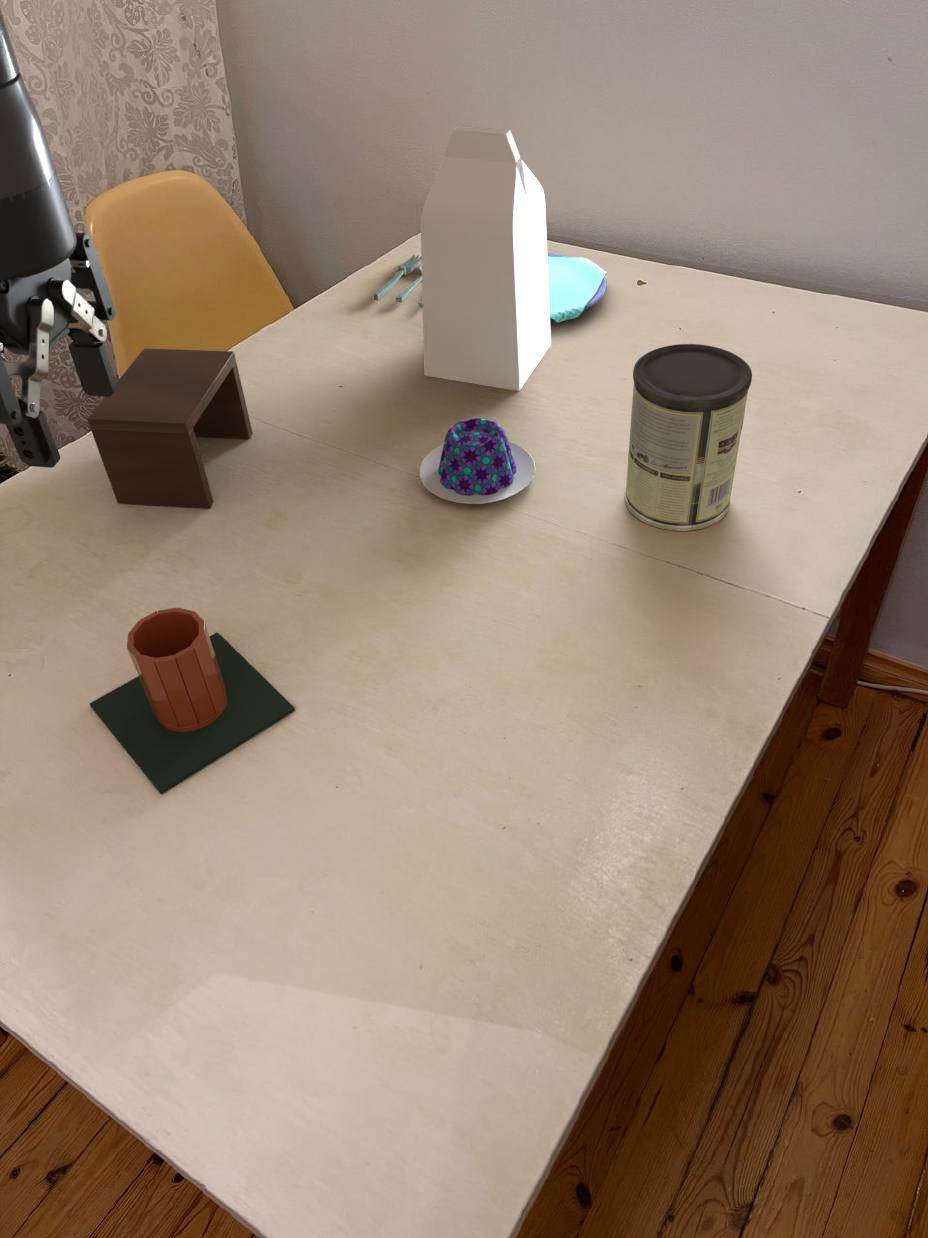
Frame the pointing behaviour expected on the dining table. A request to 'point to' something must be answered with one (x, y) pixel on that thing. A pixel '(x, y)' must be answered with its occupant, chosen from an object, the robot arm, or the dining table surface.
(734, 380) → the coffee can
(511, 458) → the pudding
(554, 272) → the cutlery set
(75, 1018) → the dining table surface
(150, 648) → the cup
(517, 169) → the milk
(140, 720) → the mat
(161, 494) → the shelf
